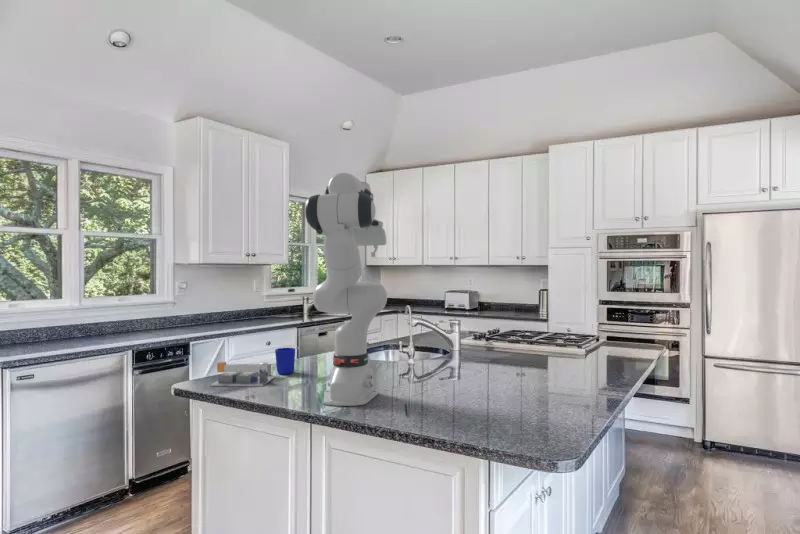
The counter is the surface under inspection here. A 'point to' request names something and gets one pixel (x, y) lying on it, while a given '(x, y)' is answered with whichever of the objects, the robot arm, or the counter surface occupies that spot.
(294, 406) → the counter surface
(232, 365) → the swing arm
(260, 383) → the chassis plate
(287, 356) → the mug
